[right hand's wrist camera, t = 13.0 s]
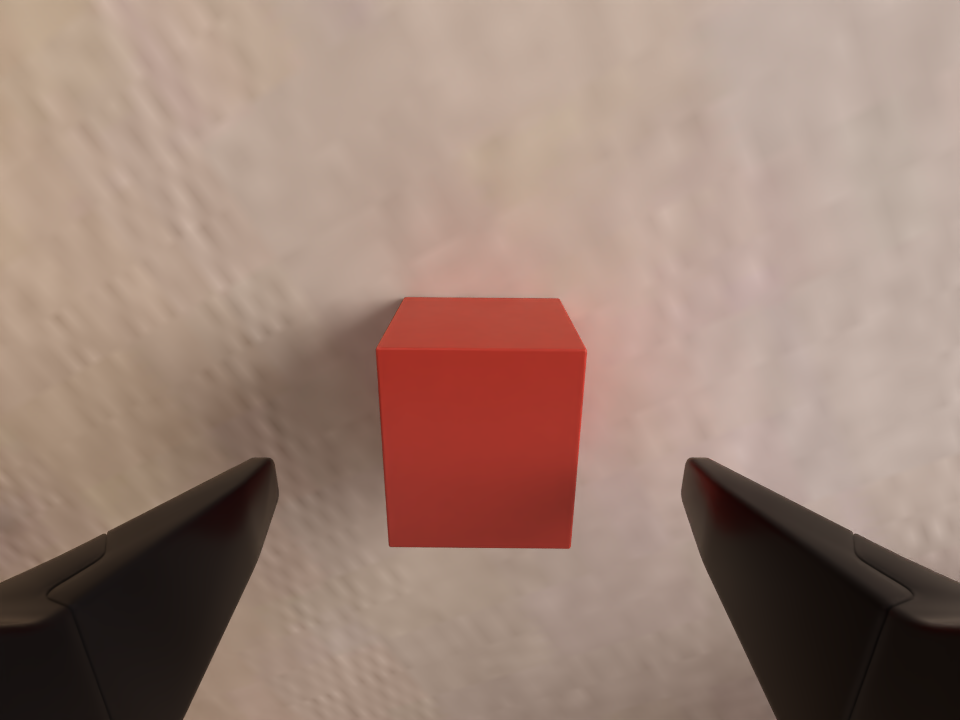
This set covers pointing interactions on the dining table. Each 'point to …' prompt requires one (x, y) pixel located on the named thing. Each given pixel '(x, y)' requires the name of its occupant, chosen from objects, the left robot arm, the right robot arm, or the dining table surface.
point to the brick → (480, 422)
